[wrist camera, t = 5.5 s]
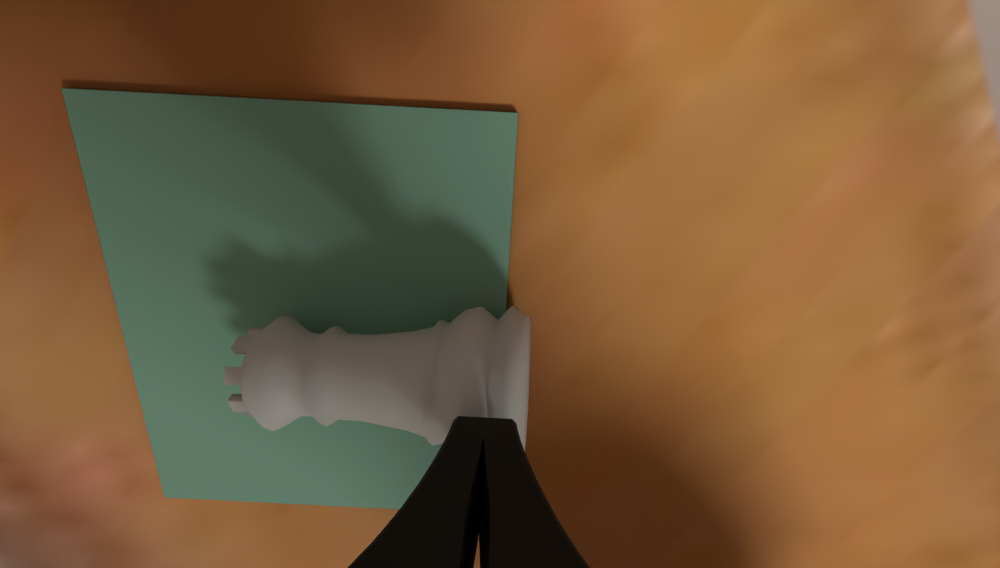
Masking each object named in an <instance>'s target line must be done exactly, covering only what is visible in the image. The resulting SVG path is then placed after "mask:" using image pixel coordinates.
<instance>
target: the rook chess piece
mask: <svg viewBox="0 0 1000 568" xmlns="http://www.w3.org/2000/svg"><path fill="white" fill-rule="evenodd" d="M248 332H249V336H247V335H238V337H237V339H236V340H235V342H234V343H233V345H232V347H231V348H230V349H231V350H232V351H233V352H234V353H235V354H245V356H244V360H243V363H242V367H229V366H225V373H224V385H234V386H240V388H241V394H232V395H231V396H230V397H229V399H228V400H227V402H228V404H229V405H230V407H231V409H232V410H233V412H243V415H244V416H253V417H254V418H255V420H256V421H257V422H258V423H259V424H260V425H261V426H262V427H263V428H265V429H268V430H270V431H275V430H278V429H280V428H282V427H284V426H286V425H288V424H289V423H291V422H292V421H294V420H296V419H297V418H299V417H302V416H310V417H314V418H315V419H316V420H317V422H318V423H320V424H322V425H324V426H328V425H330V424H332V423H334V422H335V421H337V420H350V421H363V422H368V423H373V424H378V425H382V426H387V427H392V428H397V429H401V430H406V431H409V432H412V433H415V434H417V435H420V436H423V437H425V438H426V439H427V440H428V442H429V443H430V444H431V445H433V446H434V445H437V444H441V443H442V444H443V442H444V440H445V438H446V436H447V434H448V432H449V430H450V428H451V425H452V422H453V420H454V419H455V418H457V417H458V416H467V417H486V418H505V419H513V420H514V421H515V422H516V423H517V429H518V433H519V436H520V440H521V443H522V446H523V448H524V451H525V445H526V433H527V418H528V401H529V379H530V350H531V319H530V318H529V317H528V316H527V315H525V314H524V313H523V312H521V311H520V310H519V309H517V308H516V307H515V306H511V307H510V308H509V309H508V310H507V311H506V312H505V313H504V314H503V315H502V316H501V318H500V319H499V320H498V319H496V318H495V317H494V316H493V315H492V314H491V313H490V312H488V311H487V310H486V309H485V308H484V307H477V308H472V309H468V310H465V311H464V312H462V313H461V314H460V315H459V316H458V317H456V318H455V319H454V320H453V321H452V322H450V323H449V322H447V321H445V320H441V321H438V323H437V324H436V325H435V326H434V327H431V328H426V329H422V330H417V331H411V332H399V333H387V334H376V335H368V334H348V333H347V332H346V331H345V330H344V329H342V328H341V327H340V326H333V327H331V328H329V329H328V330H327V331H325V332H324V333H322V334H319V333H313V332H310V331H308V330H307V329H306V328H305V327H304V326H302V325H301V324H300V323H299V322H298V321H297V320H295V319H294V318H293V317H292V316H280V317H279V318H277V319H276V320H275V321H273V322H272V323H270V324H269V325H268V326H266V327H265V328H263V327H253V328H248Z"/></svg>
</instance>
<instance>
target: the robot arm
mask: <svg viewBox="0 0 1000 568" xmlns="http://www.w3.org/2000/svg"><path fill="white" fill-rule="evenodd" d="M478 535H479V544H480V568H590V567H589V566H588V564H587V563H586V562H585V560H584V559H583V558H582V556H581V555H580V553H579V552H578V550H577V549H576V547H575V546H574V544H573V543H572V541H571V540H570V538H569V537H568V535H567V534H566V532H565V531H564V529H563V527H562V526H561V524H560V522H559V521H558V519H557V517H556V515H555V514H554V512H553V510H552V508H551V507H550V505H549V503H548V501H547V499H546V497H545V495H544V493H543V492H542V490H541V487H540V485H539V483H538V481H537V479H536V477H535V475H534V473H533V471H532V468H531V466H530V464H529V461H528V459H527V456H526V454H525V451H524V448H523V446H522V443H521V440H520V436H519V433H518V429H517V423H516V422H515V421H514V420H513V419H505V418H486V417H467V416H458V417H457V418H455V419H454V420H453V422H452V425H451V428H450V430H449V432H448V434H447V436H446V438H445V440H444V442H443V444H442V446H441V448H440V450H439V451H438V453H437V455H436V457H435V458H434V460H433V462H432V463H431V465H430V466H429V468H428V470H427V471H426V473H425V474H424V476H423V478H422V479H421V481H420V482H419V483H418V485H417V486H416V488H415V489H414V490H413V492H412V493H411V495H410V496H409V497H408V499H407V500H406V501H405V503H404V504H403V506H402V507H401V508H400V510H399V511H398V512H397V513H396V515H395V516H394V517H393V518H392V520H391V521H390V522H389V523H388V524H387V526H386V527H385V528H384V529H383V530H382V531H381V533H380V534H379V535H378V536H377V537H376V538H375V539H374V541H373V542H372V543H371V544H370V545H369V546H368V547H367V548H366V549H365V550H364V551H363V552H362V553H361V554H360V555H359V556H358V557H357V558H356V560H355V561H354V562H353V563H352V564H351V565H350V566H349V567H348V568H473V567H474V561H475V554H476V548H477V542H478Z"/></svg>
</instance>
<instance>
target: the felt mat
mask: <svg viewBox="0 0 1000 568" xmlns="http://www.w3.org/2000/svg"><path fill="white" fill-rule="evenodd" d="M61 89H62V93H63V97H64V101H65V105H66V109H67V113H68V117H69V121H70V125H71V129H72V133H73V137H74V141H75V145H76V148H77V152H78V156H79V160H80V164H81V168H82V172H83V176H84V180H85V184H86V188H87V192H88V196H89V200H90V204H91V208H92V212H93V216H94V220H95V224H96V228H97V232H98V236H99V240H100V244H101V248H102V252H103V256H104V260H105V264H106V268H107V272H108V275H109V279H110V283H111V287H112V291H113V295H114V299H115V303H116V307H117V311H118V315H119V319H120V323H121V327H122V331H123V335H124V339H125V343H126V347H127V351H128V355H129V359H130V363H131V367H132V371H133V375H134V379H135V383H136V387H137V391H138V395H139V399H140V402H141V406H142V410H143V414H144V418H145V422H146V426H147V430H148V434H149V438H150V442H151V446H152V450H153V454H154V458H155V462H156V466H157V470H158V474H159V478H160V482H161V486H162V490H163V494H164V497H169V498H188V499H208V500H228V501H248V502H268V503H287V504H307V505H327V506H347V507H367V508H386V509H400V508H401V507H402V506H403V504H404V503H405V501H406V500H407V499H408V497H409V496H410V495H411V493H412V492H413V490H414V489H415V488H416V486H417V485H418V483H419V482H420V481H421V479H422V478H423V476H424V474H425V473H426V471H427V470H428V468H429V466H430V465H431V463H432V462H433V460H434V458H435V457H436V455H437V453H438V451H439V450H440V448H441V446H442V443H441V444H437V445H434V446H433V445H431V444H430V443H429V442H428V440H427V439H426V438H425V437H423V436H420V435H417V434H415V433H412V432H409V431H406V430H401V429H397V428H392V427H387V426H382V425H378V424H373V423H368V422H363V421H350V420H337V421H335V422H334V423H332V424H330V425H328V426H324V425H322V424H320V423H318V422H317V420H316V419H315V418H314V417H310V416H302V417H299V418H297V419H296V420H294V421H292V422H291V423H289V424H288V425H286V426H284V427H282V428H280V429H278V430H275V431H270V430H268V429H265V428H263V427H262V426H261V425H260V424H259V423H258V422H257V421H256V420H255V418H254V417H253V416H244V415H243V412H233V410H232V409H231V407H230V405H229V404H228V402H227V400H228V399H229V397H230V396H231V395H232V394H241V388H240V386H234V385H224V373H225V366H229V367H242V363H243V360H244V356H245V354H235V353H234V352H233V351H232V350H231V349H230V348H231V347H232V345H233V343H234V342H235V340H236V339H237V337H238V335H247V336H249V332H248V328H253V327H263V328H265V327H266V326H268V325H269V324H270V323H272V322H273V321H275V320H276V319H277V318H279V317H280V316H292V317H293V318H294V319H295V320H297V321H298V322H299V323H300V324H301V325H302V326H304V327H305V328H306V329H307V330H308V331H310V332H313V333H319V334H322V333H324V332H325V331H327V330H328V329H329V328H331V327H333V326H340V327H341V328H342V329H344V330H345V331H346V332H347V333H348V334H368V335H376V334H387V333H399V332H411V331H417V330H422V329H426V328H431V327H434V326H435V325H436V324H437V323H438V321H441V320H445V321H447V322H449V323H450V322H452V321H453V320H454V319H455V318H456V317H458V316H459V315H460V314H461V313H462V312H464V311H465V310H468V309H472V308H477V307H484V308H485V309H486V310H487V311H488V312H490V313H491V314H492V315H493V316H494V317H495V318H496V319H498V320H499V319H500V318H501V316H502V315H503V314H504V313H505V312H506V303H507V286H508V270H509V253H510V237H511V220H512V204H513V187H514V171H515V154H516V138H517V121H518V112H501V111H482V110H464V109H445V108H427V107H408V106H390V105H372V104H353V103H335V102H316V101H298V100H279V99H261V98H242V97H224V96H205V95H187V94H168V93H150V92H131V91H113V90H94V89H76V88H61Z"/></svg>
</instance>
